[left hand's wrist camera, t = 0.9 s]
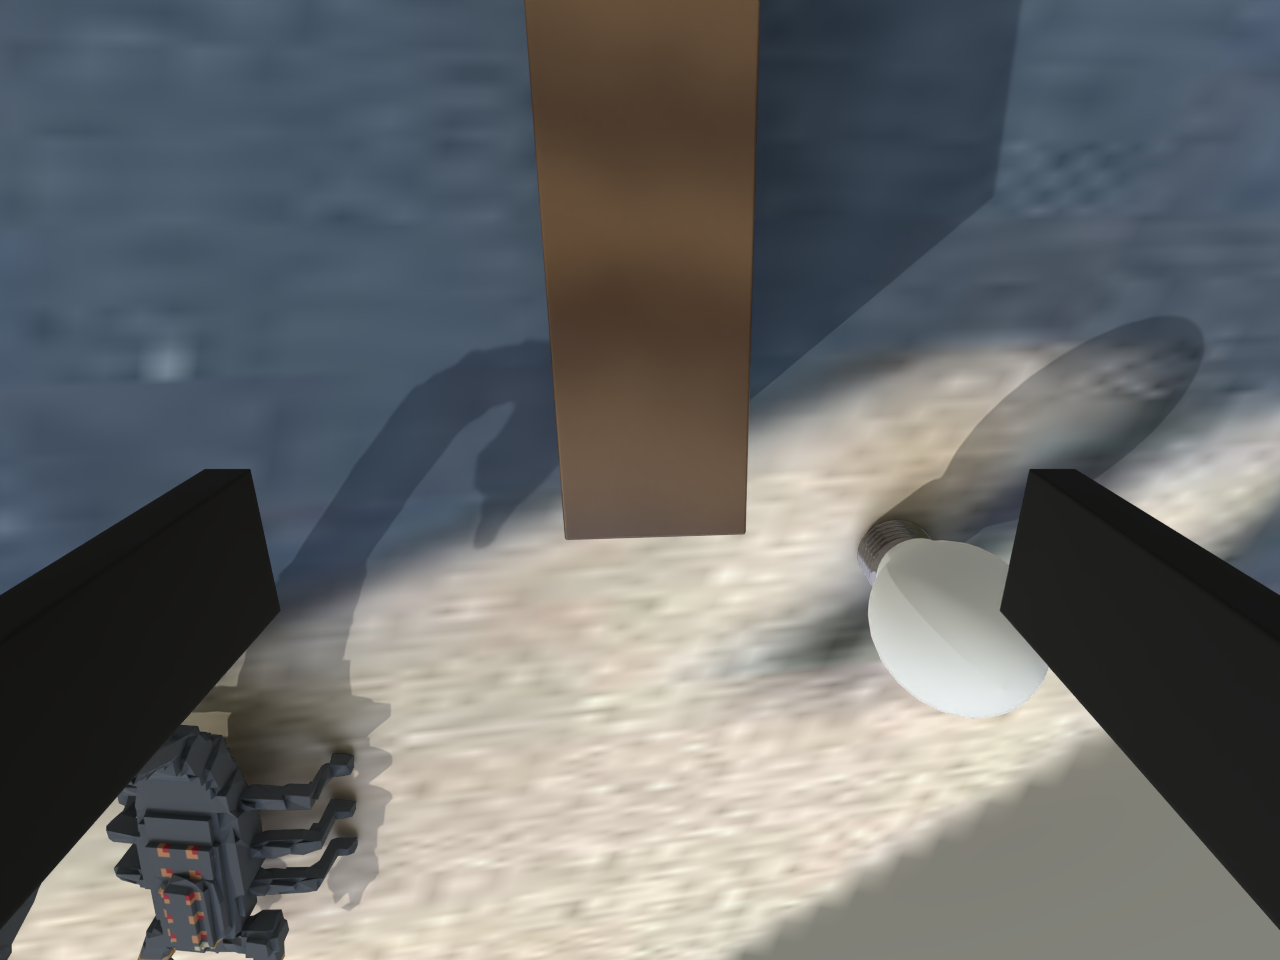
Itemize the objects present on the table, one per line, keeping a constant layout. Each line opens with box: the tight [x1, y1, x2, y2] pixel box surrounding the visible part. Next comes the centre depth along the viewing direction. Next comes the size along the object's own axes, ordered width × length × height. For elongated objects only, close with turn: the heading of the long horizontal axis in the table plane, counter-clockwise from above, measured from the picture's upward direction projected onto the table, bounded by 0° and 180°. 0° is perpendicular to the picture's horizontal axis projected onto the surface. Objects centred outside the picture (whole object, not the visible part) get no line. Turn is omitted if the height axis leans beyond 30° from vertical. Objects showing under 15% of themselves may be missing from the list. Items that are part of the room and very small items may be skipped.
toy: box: [0, 725, 358, 960], centre depth 34 cm, size 13×27×18 cm, turn 174°
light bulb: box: [858, 520, 1048, 718], centre depth 31 cm, size 7×7×11 cm
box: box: [524, 0, 760, 540], centre depth 25 cm, size 25×6×11 cm, turn 2°
